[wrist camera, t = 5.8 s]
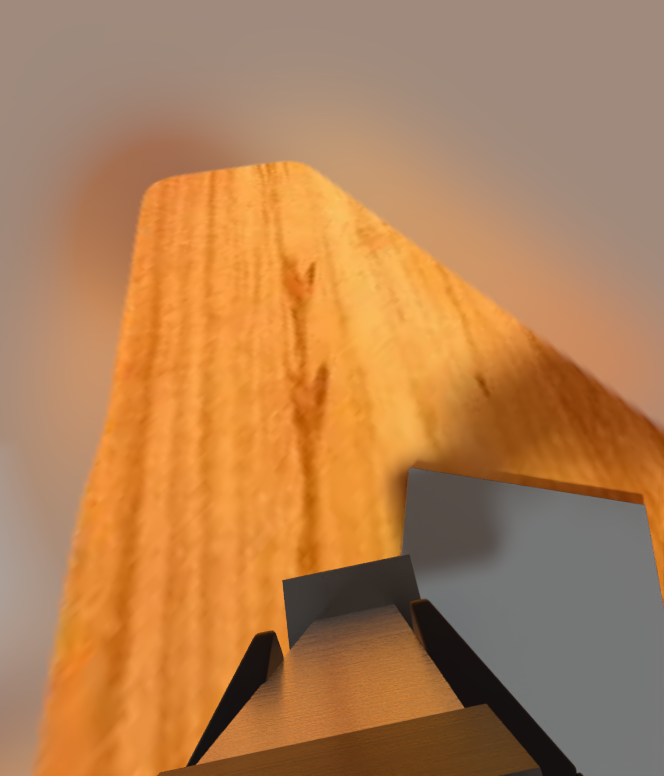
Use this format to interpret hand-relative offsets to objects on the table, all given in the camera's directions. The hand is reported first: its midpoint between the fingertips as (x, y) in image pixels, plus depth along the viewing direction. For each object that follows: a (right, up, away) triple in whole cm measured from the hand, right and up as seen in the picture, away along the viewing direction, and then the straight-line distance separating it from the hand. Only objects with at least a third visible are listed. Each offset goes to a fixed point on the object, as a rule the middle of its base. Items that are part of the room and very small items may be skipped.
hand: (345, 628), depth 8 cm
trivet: (+10, -7, +11) cm, 16 cm away
